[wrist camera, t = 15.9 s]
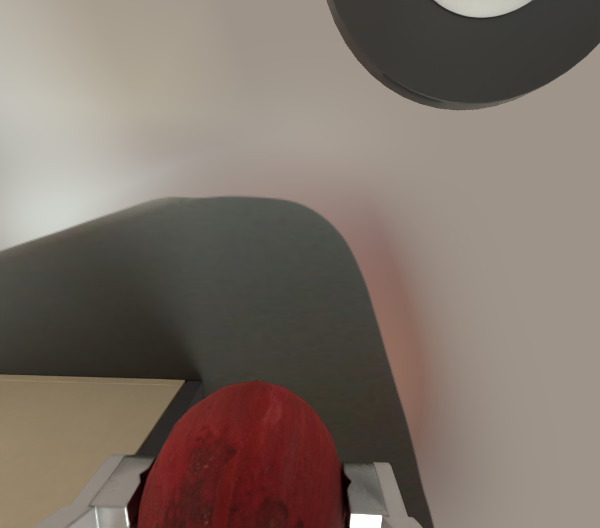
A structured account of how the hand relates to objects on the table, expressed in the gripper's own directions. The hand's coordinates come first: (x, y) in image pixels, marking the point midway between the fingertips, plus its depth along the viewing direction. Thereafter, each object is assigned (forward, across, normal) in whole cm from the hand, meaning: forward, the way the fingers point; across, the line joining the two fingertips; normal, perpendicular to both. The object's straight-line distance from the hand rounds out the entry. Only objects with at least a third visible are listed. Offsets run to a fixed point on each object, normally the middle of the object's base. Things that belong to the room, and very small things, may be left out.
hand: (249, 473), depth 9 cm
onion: (+3, 0, 0) cm, 3 cm away
